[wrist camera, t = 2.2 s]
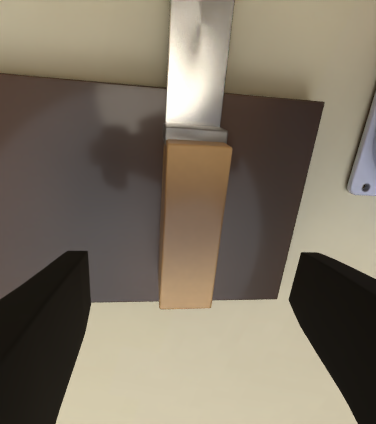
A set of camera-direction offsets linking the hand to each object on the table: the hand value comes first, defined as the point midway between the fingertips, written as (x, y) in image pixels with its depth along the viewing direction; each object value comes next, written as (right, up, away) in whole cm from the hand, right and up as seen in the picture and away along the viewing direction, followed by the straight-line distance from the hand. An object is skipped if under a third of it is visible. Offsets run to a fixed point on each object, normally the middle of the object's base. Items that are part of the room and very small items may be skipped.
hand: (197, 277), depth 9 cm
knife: (0, +7, +4) cm, 8 cm away
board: (-5, +3, +6) cm, 8 cm away
